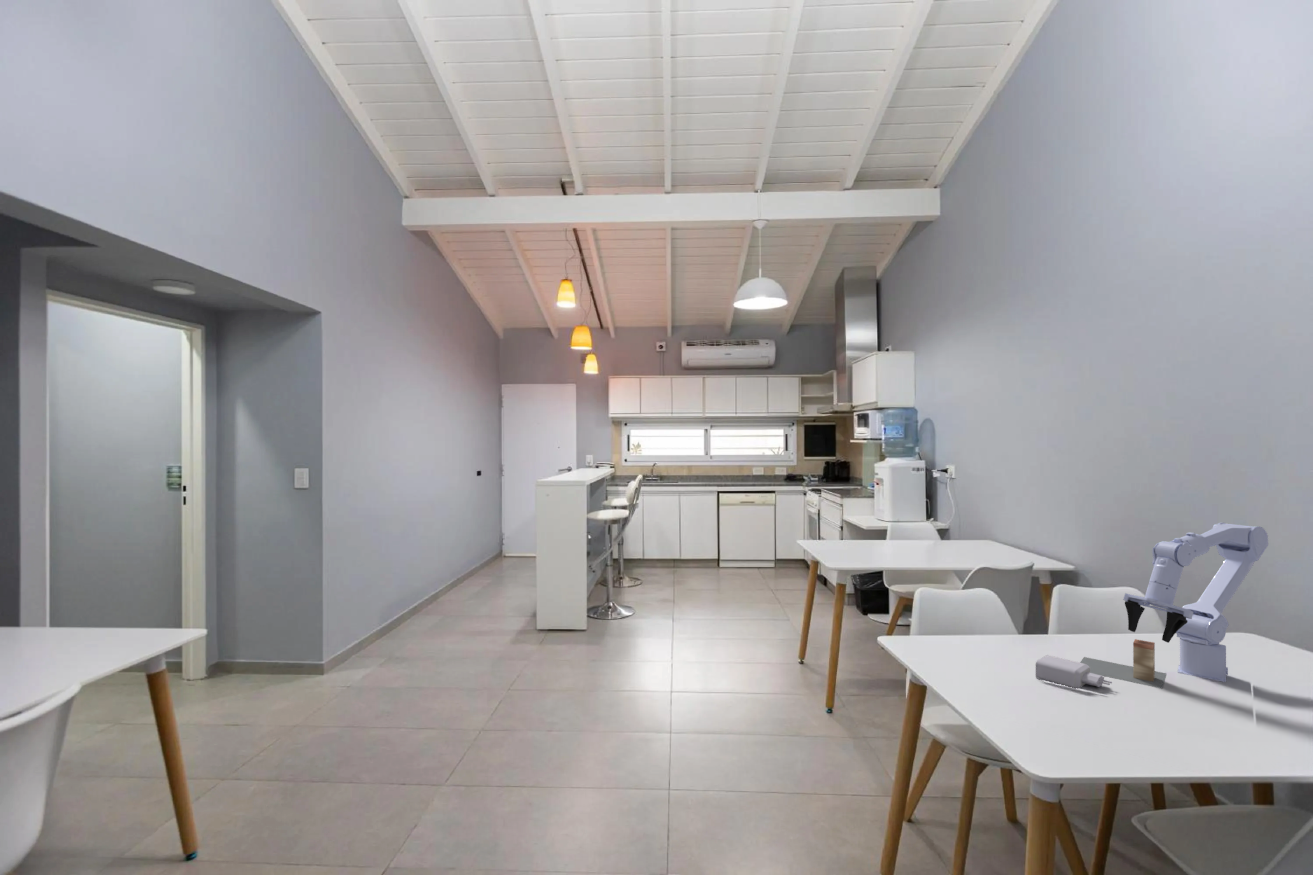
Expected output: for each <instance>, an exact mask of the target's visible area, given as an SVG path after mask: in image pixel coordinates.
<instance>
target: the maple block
mask: <svg viewBox="0 0 1313 875" xmlns="http://www.w3.org/2000/svg"><path fill="white" fill-rule="evenodd" d="M1132 643H1133V644H1132V645H1133V647H1132V648H1133V649H1132V650H1133V651H1132V653H1133V655H1132V656H1133V657H1132V660H1133V662H1132V663H1133V666H1132V667H1133V678H1138V679H1142V680H1147V681H1152V682H1153V681H1154V678H1155V671H1156V670H1155V669H1156V668H1155V667H1156V664H1155V662H1156V661H1155V660H1156V659H1155V650H1156V648H1155V645H1156V644H1155V642H1154V641H1147V640H1143V639H1142V640H1141V639H1137V638H1135V639H1134V641H1133V642H1132Z"/></svg>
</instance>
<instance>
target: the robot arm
mask: <svg viewBox="0 0 1313 875" xmlns="http://www.w3.org/2000/svg"><path fill="white" fill-rule="evenodd" d="M1213 546H1214V547H1215V546H1216V549H1217V552H1218V555H1219V556H1221V557H1222V558H1224V559H1225V560H1224V561H1223V563H1222V565H1221V566H1220V567H1219V569H1218V571H1217V572H1216V574H1214V576H1213V577H1212V579H1211V581H1210V583H1209V584H1207V586H1206V588H1205V590H1204V591H1203V593H1202V594H1201V595H1200V596H1199V598H1198V600H1197V601H1196V602H1193V603H1189V604H1185V605H1183V606H1182V607H1181V606H1177V605H1174V601H1175V597H1176V595H1177V591H1178V588H1179V584H1180V581H1181V578H1182V575H1183V574H1182V573H1183V570H1184V567H1188V566H1190V565H1191V564H1192V562H1193V560H1194V559H1195V558H1197V557H1200V556H1203V555H1204V554H1207V553H1209V551H1210V549H1211V548H1210V547H1213ZM1268 546H1269V535H1268V532H1267V531H1266V529H1265V528H1264V527H1262V526H1259V525H1258V526H1254V525H1253V526H1252V525H1244V524H1235V523H1226V522H1218V523H1215V524H1213V526H1212V528H1211V529H1209V530H1207V531H1205V532H1203V533H1201V534H1199V533H1195V532H1190V531H1188V532H1186V533H1185V535H1183V536H1181V537H1175V538H1173V539H1172V540H1170V541H1165V540H1162V541H1160V542H1157V543H1155V545H1154V547H1152V550H1151V553H1152V562H1151V563H1152V566H1153V568H1152V570H1151V575H1150V577H1149V582H1148V585H1147V588H1146V591H1145V594H1144V596H1139V595H1135V594H1131V593H1126V592H1125V593H1124V596H1123V599H1122V600H1123V601H1124V606H1125V610H1126V612H1127V620H1128V625H1127V626H1128V627H1127V629H1128V631H1130V632H1133V633H1135V632H1136V630H1137V627H1138V625H1139V620H1140V619H1141V616H1142V614H1143V612H1144V611H1145V610H1146V608H1150V609H1154V610H1157V611H1161V612H1164V613H1166V621H1165V627H1164V630H1163V634H1162V635H1161V640H1162V641H1164V642H1166V643H1170V641H1171V640H1172V638H1173V637H1174V635H1176V637H1177V638H1179V664H1178V667H1177V671H1176V672H1177V673H1178V674H1183V675H1188V676H1191V677H1198V678H1203V679H1206V680H1212V681H1217V682H1222V683H1227V676H1228V675H1229V667H1227V645H1225V644H1220V643H1221V642H1222V641H1223V640H1224V639H1225V637H1226V632H1227V629H1228V628H1229V625H1230V624H1229V622H1228V619H1227V618H1226V617H1225V615H1224V614H1223V612H1224V611H1225V609H1226V607H1227V606H1228V605H1229V603H1230V602H1231V600H1232V598H1233V597H1234V596H1235V594H1236V592H1237V591H1238V589H1239V588H1240V586H1241V585H1242V583H1243V582H1244V580H1245V579H1246V578H1247V576H1248V575H1249V573H1250V571H1251V570H1252V568H1253V566H1254V564H1255V562H1258V561H1259V560H1260V558H1261V557H1262V555H1263V554H1264V552H1265V551H1266V549H1267V548H1268Z"/></svg>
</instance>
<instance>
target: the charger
mask: <svg viewBox="0 0 1313 875" xmlns="http://www.w3.org/2000/svg"><path fill="white" fill-rule="evenodd" d="M1035 678H1036V679H1038V678H1039V679H1041V680H1043V681H1044V680H1046V682H1050V683H1053V682H1054V684H1056V683H1057V685H1060V684H1061V685H1060V686H1064V685H1065V686H1064V687H1067V686H1068V687H1067V688H1071V687H1072V689H1074V690H1075V689H1076V688H1077V689H1079V688H1082V687H1083V686H1085V685H1090V686H1094V687H1098V688H1100V687H1101V686H1102V685H1103V684H1104V685H1107V686H1110V684H1112V683H1113V682H1112V681H1110V680H1107V679H1105V676H1101V675H1097V674H1093V673H1090V667H1089V666H1088V665H1087V664H1083V663H1080V661H1079V662H1078V661H1074V660H1071V659H1066V658H1063V657H1058V656H1054V655H1050V654H1047V655H1044V656H1043V657H1040V658H1038V659H1037V660H1036V661H1035ZM1077 689H1076V690H1077Z"/></svg>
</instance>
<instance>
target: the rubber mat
mask: <svg viewBox="0 0 1313 875" xmlns="http://www.w3.org/2000/svg"><path fill="white" fill-rule="evenodd" d="M1079 663H1083V664H1087V665H1088V666H1089V667H1090V673H1093V674H1097V675H1101V676H1103V677H1106V678H1111V679H1114V680H1120V681H1124V682H1130V683H1134V684H1140V685H1144V686H1148V687H1153V688H1158V689H1163V687H1164V684H1165V680H1166V677H1167V673H1166V672H1161V671H1156V670H1155V678H1154V681H1153V682H1152V681H1147V680H1142V679H1138V678H1133V666H1131V665H1128V664H1123V663H1116V662H1112V661H1111V662H1110V661H1107V660H1101V659H1096V658H1091V657H1086V656H1084V657H1083V658H1082V659H1081V660H1080V661H1079Z"/></svg>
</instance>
